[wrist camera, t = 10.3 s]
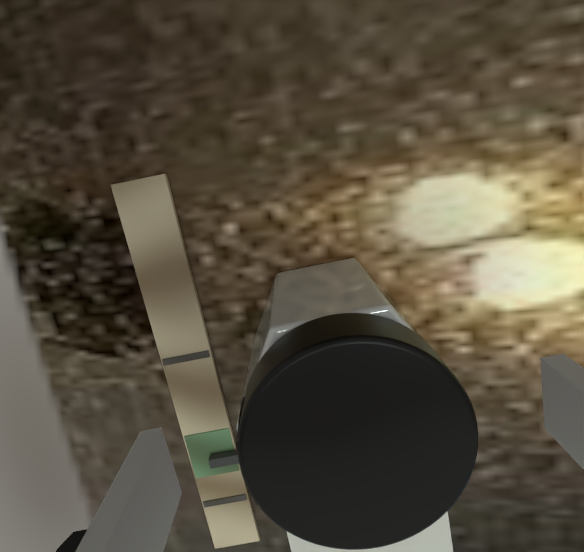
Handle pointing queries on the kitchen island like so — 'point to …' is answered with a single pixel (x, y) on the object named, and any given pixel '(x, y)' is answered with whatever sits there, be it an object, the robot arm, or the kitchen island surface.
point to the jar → (350, 414)
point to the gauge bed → (185, 353)
